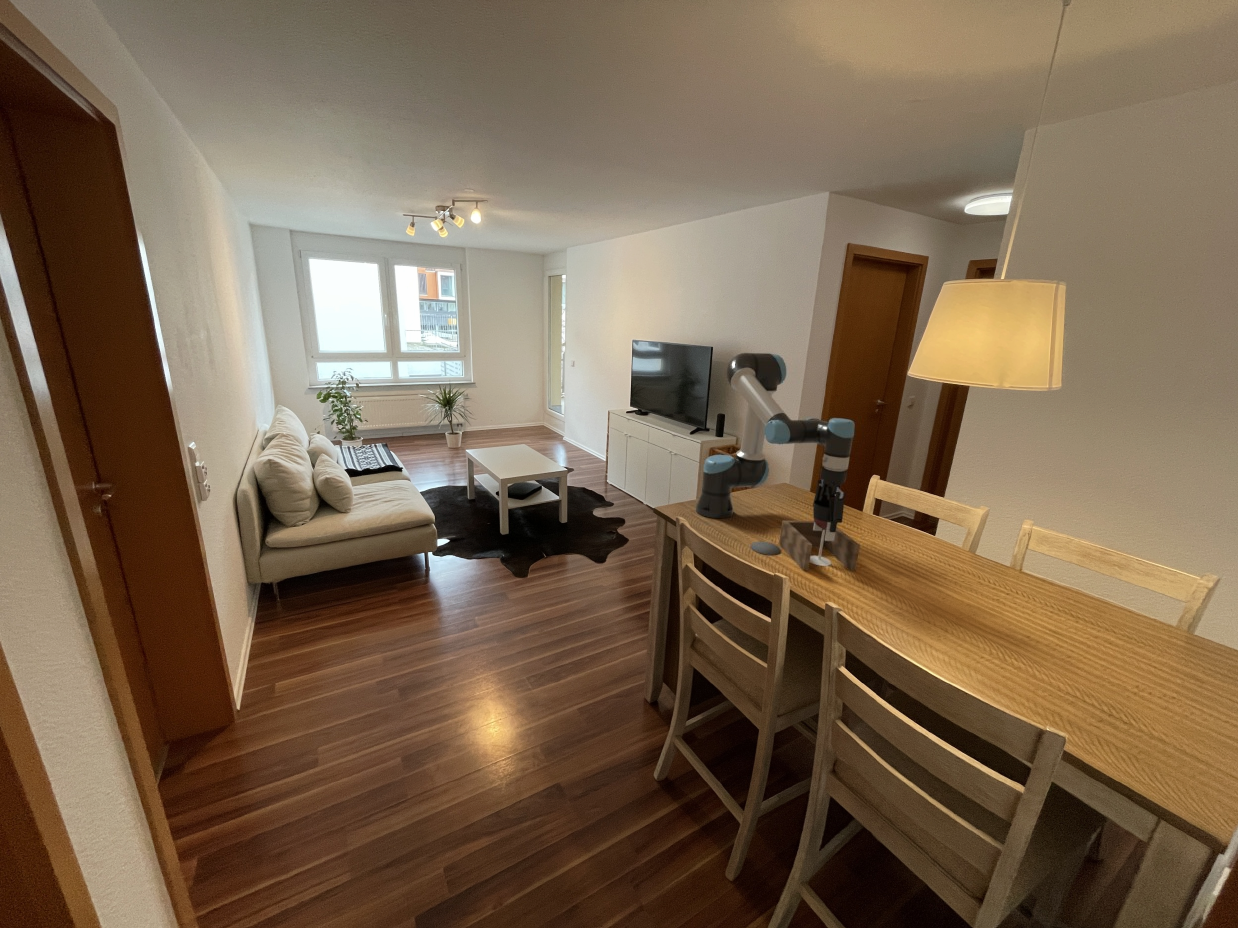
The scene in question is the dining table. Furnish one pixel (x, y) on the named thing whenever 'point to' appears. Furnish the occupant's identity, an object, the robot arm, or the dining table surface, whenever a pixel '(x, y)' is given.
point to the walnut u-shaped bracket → (816, 544)
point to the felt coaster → (765, 548)
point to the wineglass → (821, 520)
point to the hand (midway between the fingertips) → (823, 535)
